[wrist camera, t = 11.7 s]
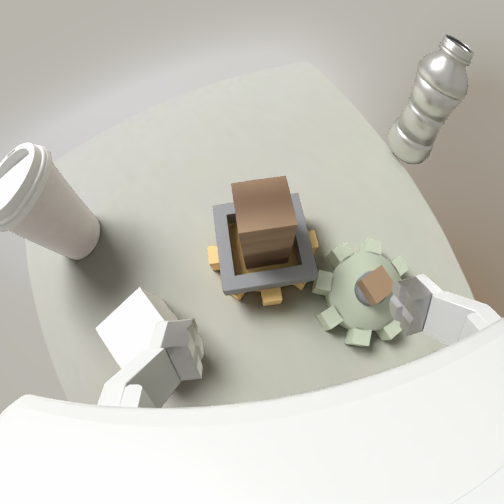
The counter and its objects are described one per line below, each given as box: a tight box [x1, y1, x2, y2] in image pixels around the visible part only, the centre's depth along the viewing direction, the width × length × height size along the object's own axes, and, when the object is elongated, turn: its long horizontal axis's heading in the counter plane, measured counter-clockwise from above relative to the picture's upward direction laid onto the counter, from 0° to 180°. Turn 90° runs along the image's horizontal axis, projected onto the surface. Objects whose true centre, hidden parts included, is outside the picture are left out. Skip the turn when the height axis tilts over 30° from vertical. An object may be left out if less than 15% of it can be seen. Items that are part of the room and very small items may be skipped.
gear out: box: [207, 193, 319, 306], centre depth 27 cm, size 11×11×4 cm
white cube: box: [96, 287, 178, 369], centre depth 24 cm, size 6×6×6 cm
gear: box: [311, 238, 410, 347], centre depth 25 cm, size 11×11×5 cm
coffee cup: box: [0, 143, 100, 260], centre depth 24 cm, size 10×10×15 cm
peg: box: [231, 176, 298, 269], centre depth 23 cm, size 4×4×8 cm
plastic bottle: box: [388, 34, 474, 164], centre depth 24 cm, size 6×7×20 cm
